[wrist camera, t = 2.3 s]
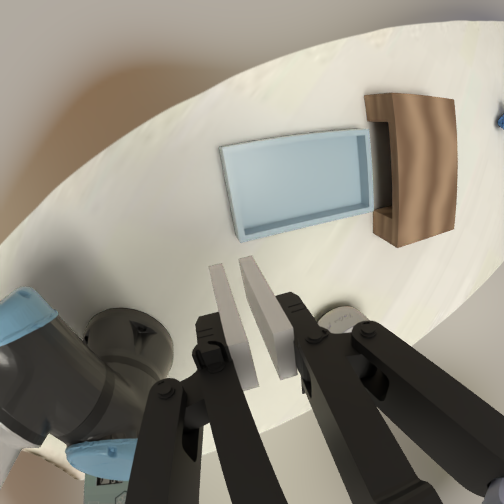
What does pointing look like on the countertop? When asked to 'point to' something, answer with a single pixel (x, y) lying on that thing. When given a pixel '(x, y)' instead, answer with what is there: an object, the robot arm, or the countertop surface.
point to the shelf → (417, 166)
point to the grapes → (501, 122)
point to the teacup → (342, 319)
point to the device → (104, 490)
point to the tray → (297, 181)
